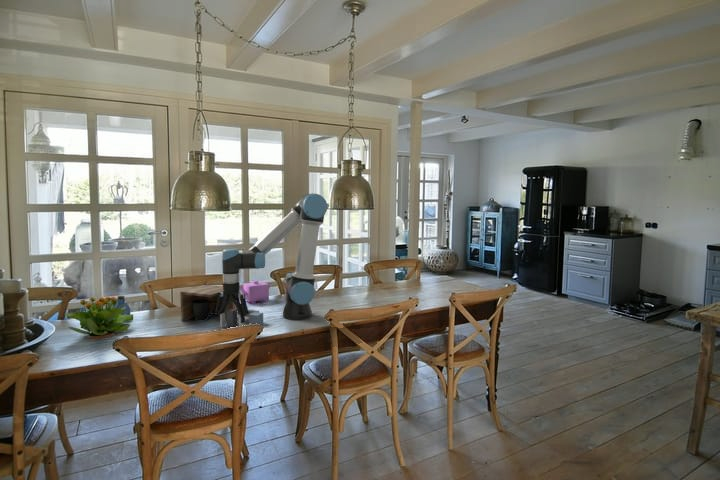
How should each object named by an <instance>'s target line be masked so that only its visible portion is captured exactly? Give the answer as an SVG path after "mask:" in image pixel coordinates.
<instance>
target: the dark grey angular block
mask: <svg viewBox="0 0 720 480" xmlns="http://www.w3.org/2000/svg"><path fill="white" fill-rule="evenodd" d="M248 312H249V314H251V313H253V312H259V313H260V310H254V309H253V310H252V309H248ZM226 314H227V315H226V329H227V328H230V327H236V326H238V327H239V320H238V316H240V314H239V312H237V309H229V310H227V311H226ZM249 314H247V315H245V322H244V325H245V324H246V323H247V324H248V323H249Z"/></svg>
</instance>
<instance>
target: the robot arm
mask: <svg viewBox="0 0 720 480" xmlns="http://www.w3.org/2000/svg"><path fill="white" fill-rule="evenodd" d="M327 210H328V203H327V200H326V199H325V198H324V196H322V195H320V194H319V193H307V194H305V195H303V196H302V197H301V198H299V200H298V201H297V202H296V203H295V204H294V206H292V207H291V209H290V211H289V213H288V214H286V215H285V217H283V218H282V219H281V220H280V221H279V222H278V223H277V224H275V226H274V225H273V227H272V228H271V229H270V230H269V231H268V232H267V233H266V234H264V235H263V236H261V238H260V239H259V240H258V241H256V242H255V244H253V245H252V246H251V247H250V248H248V249H246V251H245V252H244V253H243V252H242V253H241V252H240V249H238V248H226V249H223V251H222V253H221V254H222V255H221V256H222V257H221V258H222V260H221V261H222V262H221V264H222V267H221V268H222V282H223V283H222V287H223V290H224V292H219V293H218V300H217V305H216V310H215V312H218V313H219V314H218V319H219V321H220V322H219V323H220V329H221V328H224V327H226V315H225V313H223V312H224V310H225V308H226V306H227V304H228V302H229V301H231V302H233V303H234V304H235V306H236V308H237V310H238V312H239V314H240V315H238V321H239V326H242V325H245V324H244V322H245V318H246V316H245V315H247V314H249V312H248V310H249V309H248V306H247V300H245V294H243V293H240V290H241V288H240V285H241V283H240V270H249V269H250V270H253V269H255V270H256V269H257V270H259V269H264V268H265V267H266V255H267V254H268V253H269V252H270V251H271V250H273V248H274V247H276V246H277V245H278V244H279V243H280V242H281V241H283V239H285V237H287V236H288V235H289V234H290V233H291V232H292V231H294V230H295V228H297V226H299V225H300V224H301V230H300V237H299V241H298V250H297V257H296V264H295V271H294V272H291V273H287V274H286V275H285V284H286V285H285V297H286V299H285V305H284V307H283V312H282V318H284V319H287V320H291V321H292V320H295V321H297V320H305V319H309V318H311V317H312V316H313V310H312V308H311V305H310V302H312V301H313V299H314V298H315V294H316V292H315V290H316V289H315V283H316V281H315V280H316V277H315V275H314V273H313V272H314V266H315V262H316V261H315V259H316V252H317V245H318V239H319V232H320V231H319V230H320V226H322V225H323V224H324V219H325V215H326V214H327ZM223 296H224V297H225V298H224V300H223ZM236 300H237V301H236ZM222 301H223V304H222ZM238 312H237V313H238ZM239 326H238V327H239Z"/></svg>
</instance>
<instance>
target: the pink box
mask: <svg viewBox="0 0 720 480" xmlns="http://www.w3.org/2000/svg"><path fill="white" fill-rule="evenodd" d="M270 288H271V286H270V284H269V283H267V282H264V281H259V280H253V282H246V283H243V285H242V284H240V291H241V294H245V300H246V302H249V303H250V304H253V305H255V304H256V302H259V301H260V303H266V301H269V300H270Z"/></svg>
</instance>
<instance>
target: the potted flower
mask: <svg viewBox="0 0 720 480" xmlns="http://www.w3.org/2000/svg"><path fill="white" fill-rule="evenodd" d="M79 302H80V306H81V305H82V306H83V307H84V310H81V311H80V312H79V311H74V312H73V311H72V312H65V313H64V315H65V316H66V318H70V319H73V320H77V321H79V325H80V328H81V329H80V328H77V327H73V326H67V328H68V329H69V330H71V331H73V332H76V333H78V334H79V333H80V334H83V335H88V336H89V338H90V339H92V340H94V339H95V340H99V339H100V340H101V339H106V338H110V337H112V336H115V334H122V333H123V332H126V331H127V330H128V329H129V328H130V327H131V324H130V323H124V322H133V320H134V314H133V313H130V315H126V314H124V315H121V313H123V312H124V311H123V310H124V309H126V307H124V308H122V309H121V308H116V309H115V308H114V305H115V304H116V305H117V303H118V298H116V297H115V296H111V297H109V296H106V297H100V298H99V299H98V300H96V298H95V297H94V296H91V297H90V298H89V300H87V301H86V299H81V300H80V301H79ZM116 305H115V306H116ZM104 306H105V308H104ZM87 310H88V311H87Z"/></svg>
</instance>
